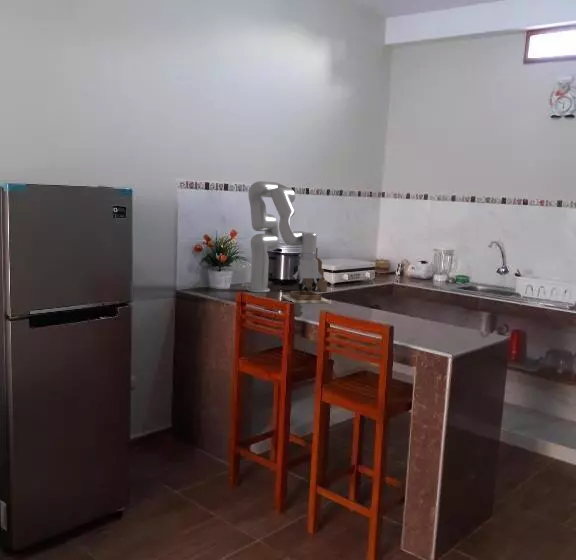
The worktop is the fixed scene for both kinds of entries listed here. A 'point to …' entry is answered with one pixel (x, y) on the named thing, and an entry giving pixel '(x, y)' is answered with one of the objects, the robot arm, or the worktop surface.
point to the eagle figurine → (306, 288)
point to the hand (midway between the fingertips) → (307, 290)
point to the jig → (305, 297)
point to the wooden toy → (322, 282)
